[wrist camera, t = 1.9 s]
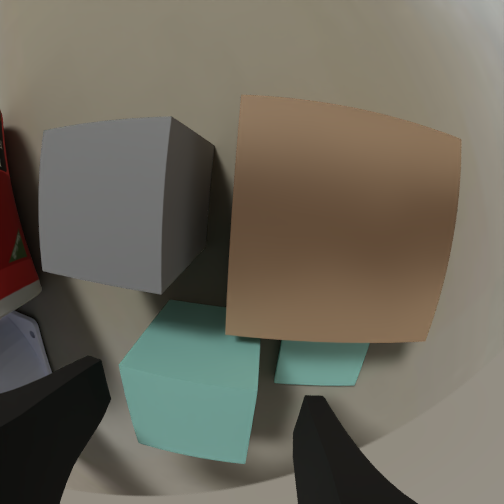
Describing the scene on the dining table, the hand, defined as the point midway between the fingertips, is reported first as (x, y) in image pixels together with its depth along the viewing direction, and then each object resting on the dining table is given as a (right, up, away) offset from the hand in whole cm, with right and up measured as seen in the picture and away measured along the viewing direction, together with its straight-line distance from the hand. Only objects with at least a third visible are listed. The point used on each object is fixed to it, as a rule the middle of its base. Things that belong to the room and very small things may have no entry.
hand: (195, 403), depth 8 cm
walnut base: (+5, +7, +2) cm, 9 cm away
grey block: (-2, +8, +2) cm, 8 cm away
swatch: (+5, +1, +3) cm, 6 cm away
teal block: (0, +1, +4) cm, 4 cm away
